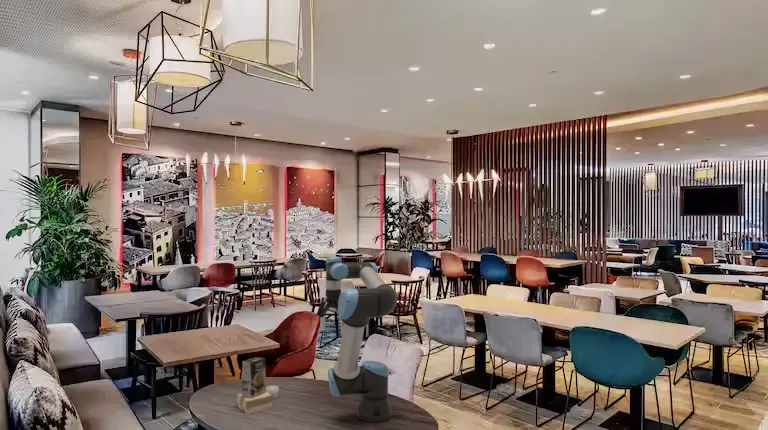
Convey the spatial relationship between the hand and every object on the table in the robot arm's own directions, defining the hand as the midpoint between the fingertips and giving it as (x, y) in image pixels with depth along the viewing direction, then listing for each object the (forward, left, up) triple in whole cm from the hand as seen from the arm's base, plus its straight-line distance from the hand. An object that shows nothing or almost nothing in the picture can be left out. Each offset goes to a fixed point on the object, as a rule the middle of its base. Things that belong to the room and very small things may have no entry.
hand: (332, 332), depth 238 cm
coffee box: (+20, +31, -26) cm, 46 cm away
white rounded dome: (+23, +18, -32) cm, 43 cm away
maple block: (+20, +31, -32) cm, 49 cm away
